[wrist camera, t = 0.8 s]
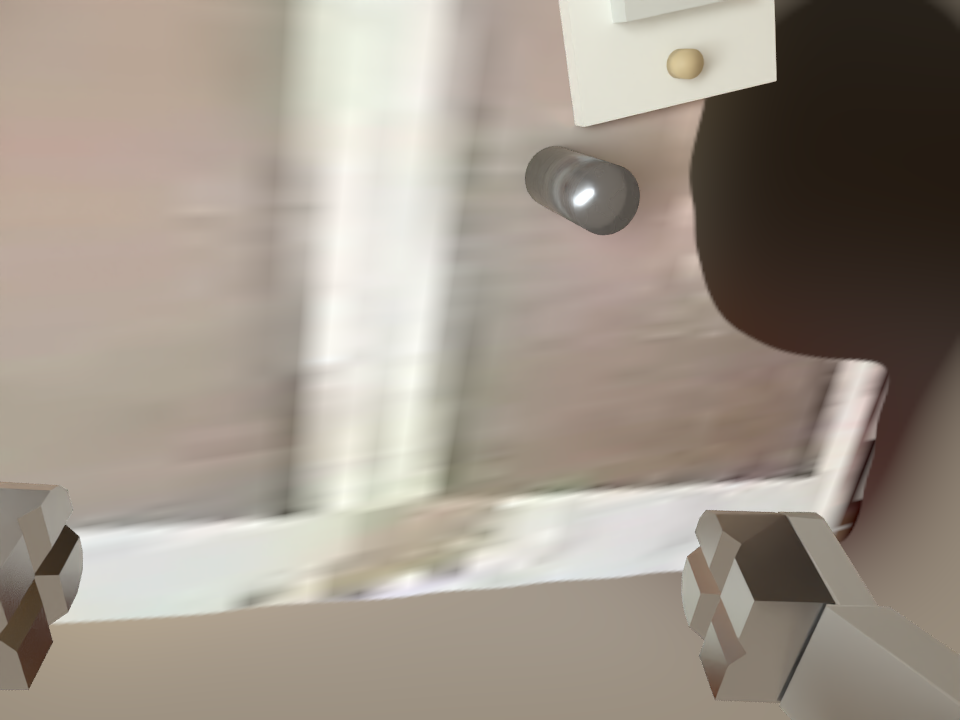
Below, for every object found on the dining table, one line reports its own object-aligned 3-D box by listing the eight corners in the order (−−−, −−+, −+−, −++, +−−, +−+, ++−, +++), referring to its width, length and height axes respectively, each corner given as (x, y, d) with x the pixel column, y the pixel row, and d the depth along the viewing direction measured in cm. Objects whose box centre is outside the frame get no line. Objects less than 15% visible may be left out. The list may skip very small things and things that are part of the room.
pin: (520, 153, 51) (569, 173, 43) (577, 140, 52) (635, 157, 44) (530, 212, 53) (579, 242, 45) (584, 198, 54) (642, 225, 46)
